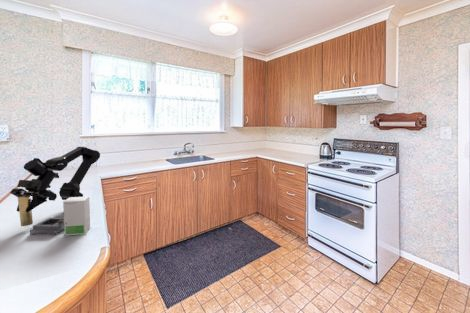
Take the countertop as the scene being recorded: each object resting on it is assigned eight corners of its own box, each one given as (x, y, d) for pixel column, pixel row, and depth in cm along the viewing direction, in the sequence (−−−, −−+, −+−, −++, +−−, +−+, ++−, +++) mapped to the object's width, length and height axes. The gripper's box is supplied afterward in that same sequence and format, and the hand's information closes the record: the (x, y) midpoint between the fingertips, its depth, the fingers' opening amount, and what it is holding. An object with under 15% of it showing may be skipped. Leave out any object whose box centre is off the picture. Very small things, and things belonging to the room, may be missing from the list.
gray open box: (30, 234, 97) (29, 224, 96) (47, 225, 105) (46, 216, 105) (58, 235, 97) (57, 225, 96) (72, 225, 106) (71, 216, 105)
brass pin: (22, 223, 101) (18, 196, 99) (33, 221, 103) (30, 194, 101) (19, 227, 98) (16, 198, 96) (32, 224, 100) (29, 197, 98)
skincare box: (64, 236, 96) (61, 201, 94) (71, 229, 102) (68, 196, 100) (86, 234, 98) (83, 200, 96) (91, 227, 104) (89, 195, 102)
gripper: (12, 171, 102) (-14, 202, 93) (48, 173, 100) (26, 204, 91) (31, 183, 111) (9, 213, 102) (65, 185, 109) (46, 215, 100)
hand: (22, 211), depth 98 cm, fingers closed on brass pin, 4 cm apart
